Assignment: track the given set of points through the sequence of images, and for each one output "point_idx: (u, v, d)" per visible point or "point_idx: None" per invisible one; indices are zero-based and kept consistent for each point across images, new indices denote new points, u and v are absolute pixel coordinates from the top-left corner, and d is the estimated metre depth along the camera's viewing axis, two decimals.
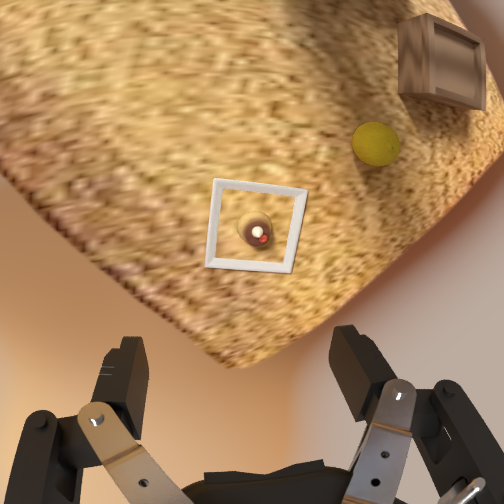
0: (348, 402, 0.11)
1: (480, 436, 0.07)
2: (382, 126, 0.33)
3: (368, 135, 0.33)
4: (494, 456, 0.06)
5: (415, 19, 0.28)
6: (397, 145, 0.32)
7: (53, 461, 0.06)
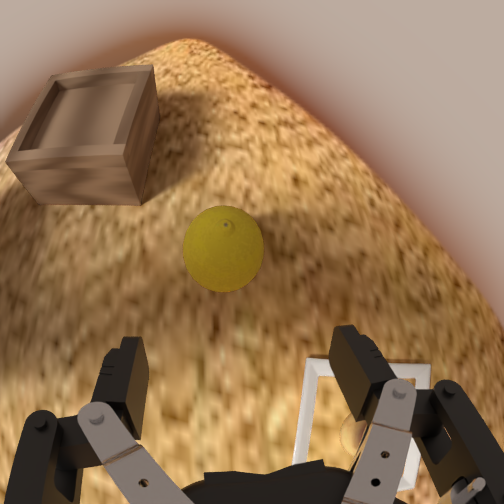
0: (348, 402, 0.11)
1: (480, 436, 0.07)
2: (186, 242, 0.20)
3: (206, 270, 0.19)
4: (494, 456, 0.06)
5: (21, 179, 0.22)
6: (220, 213, 0.19)
7: (53, 461, 0.06)
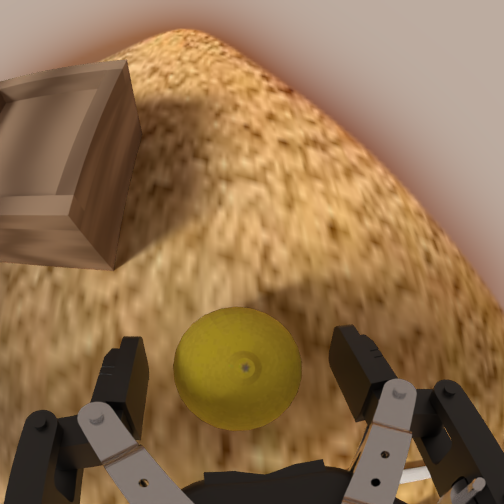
0: (347, 401, 0.11)
1: (480, 436, 0.07)
2: (179, 376, 0.11)
3: (213, 422, 0.11)
4: (494, 456, 0.06)
5: None
6: (234, 337, 0.11)
7: (53, 461, 0.06)
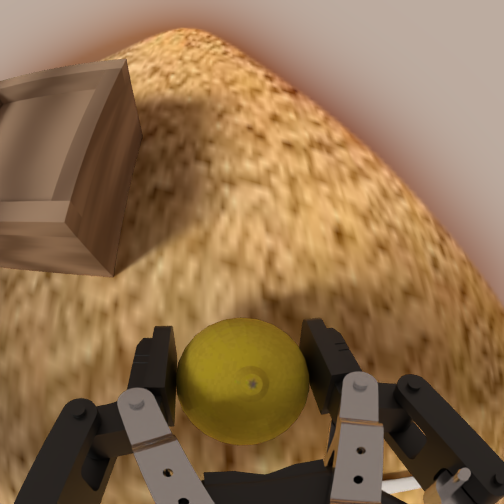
0: (314, 394, 0.12)
1: (455, 427, 0.07)
2: (182, 391, 0.11)
3: (218, 437, 0.10)
4: (474, 443, 0.06)
5: None
6: (240, 351, 0.10)
7: (84, 450, 0.07)
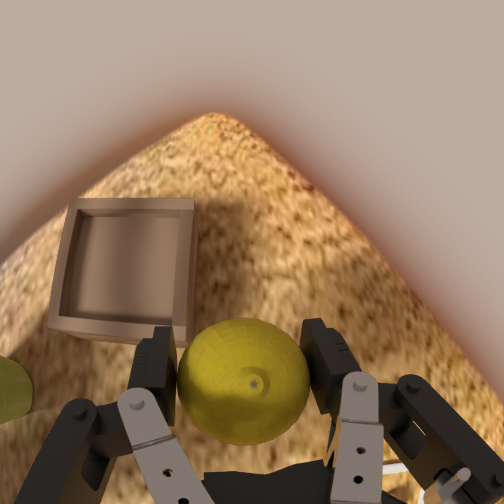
0: (314, 394, 0.12)
1: (455, 427, 0.07)
2: (182, 391, 0.11)
3: (219, 438, 0.10)
4: (473, 444, 0.06)
5: (65, 332, 0.23)
6: (241, 351, 0.10)
7: (84, 450, 0.07)
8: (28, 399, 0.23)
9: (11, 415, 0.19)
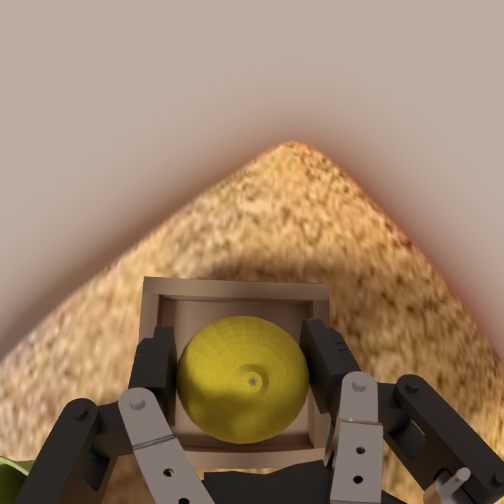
0: (314, 394, 0.12)
1: (455, 427, 0.07)
2: (181, 389, 0.11)
3: (217, 436, 0.10)
4: (473, 443, 0.06)
5: None
6: (240, 349, 0.10)
7: (85, 450, 0.07)
8: None
9: None
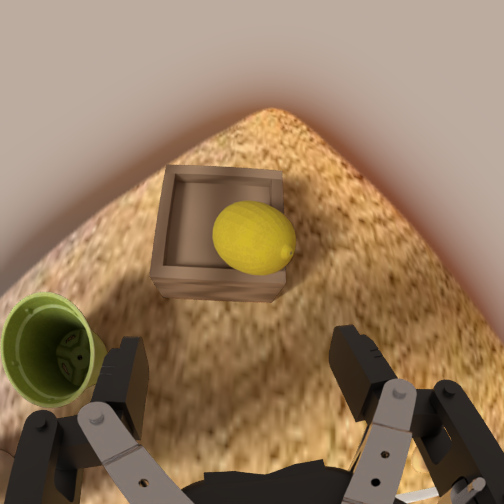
0: (347, 402, 0.11)
1: (480, 436, 0.07)
2: (247, 245, 0.22)
3: (251, 271, 0.23)
4: (494, 456, 0.06)
5: (159, 285, 0.27)
6: (286, 235, 0.22)
7: (53, 461, 0.06)
8: None
9: (92, 380, 0.24)
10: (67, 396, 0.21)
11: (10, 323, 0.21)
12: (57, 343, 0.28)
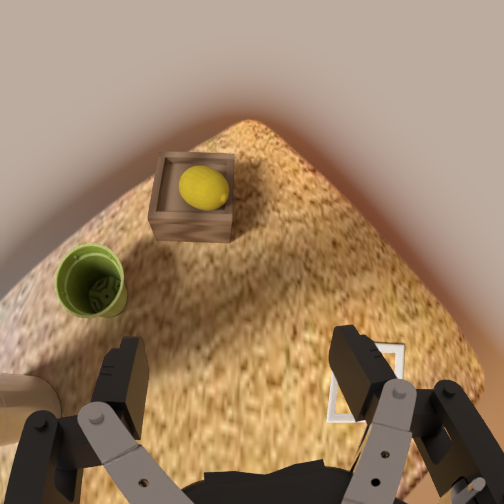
0: (348, 402, 0.11)
1: (480, 436, 0.07)
2: (202, 194, 0.38)
3: (203, 208, 0.40)
4: (494, 456, 0.06)
5: (153, 227, 0.42)
6: (224, 188, 0.39)
7: (53, 461, 0.06)
8: (125, 299, 0.42)
9: (117, 305, 0.38)
10: None
11: (62, 265, 0.35)
12: (90, 287, 0.42)
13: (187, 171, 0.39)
